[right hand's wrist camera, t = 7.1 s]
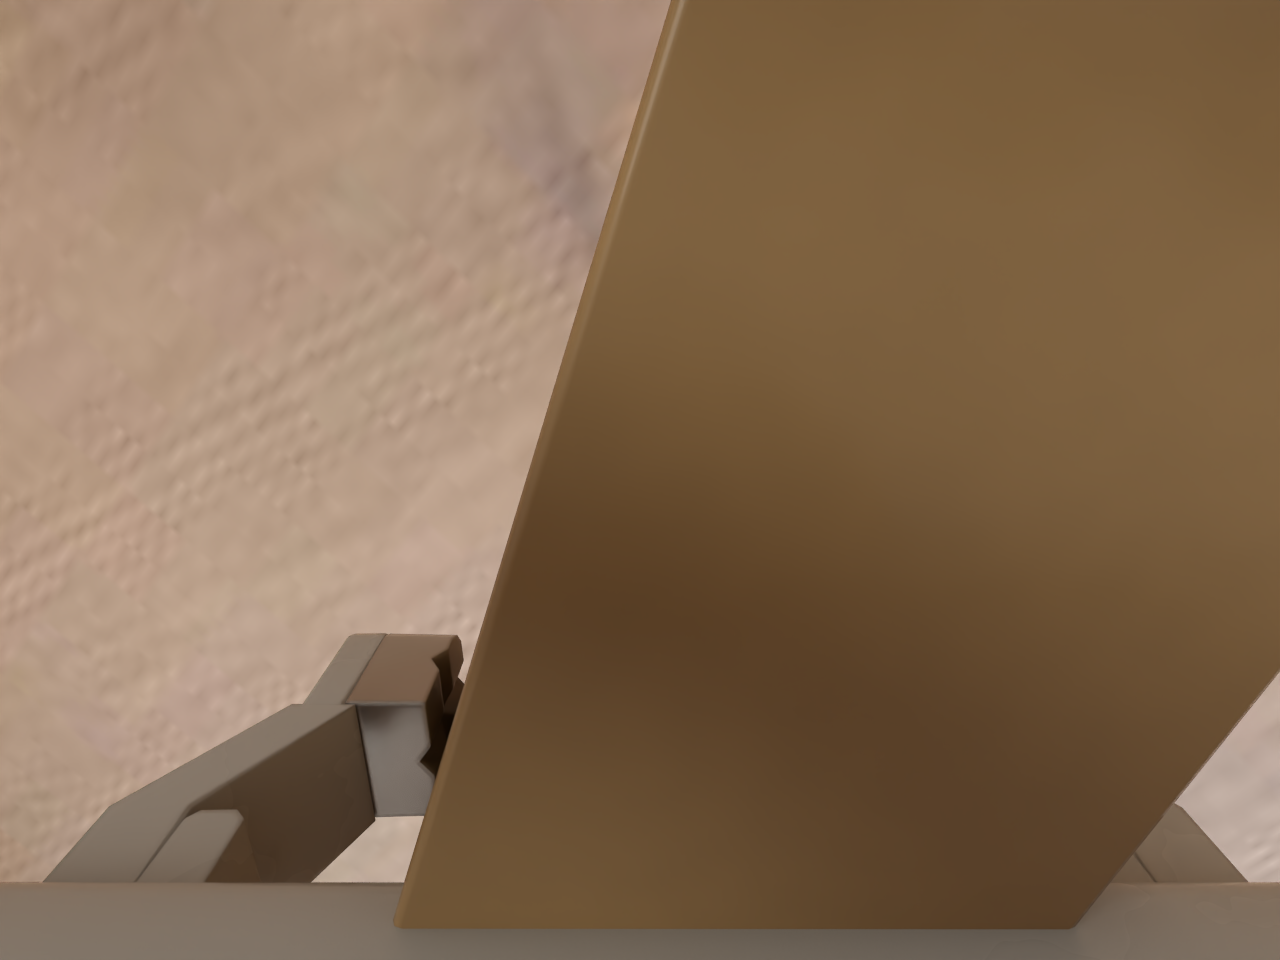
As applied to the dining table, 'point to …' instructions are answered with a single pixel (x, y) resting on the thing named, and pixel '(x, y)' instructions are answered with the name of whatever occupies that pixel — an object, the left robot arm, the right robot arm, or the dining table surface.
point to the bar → (888, 479)
